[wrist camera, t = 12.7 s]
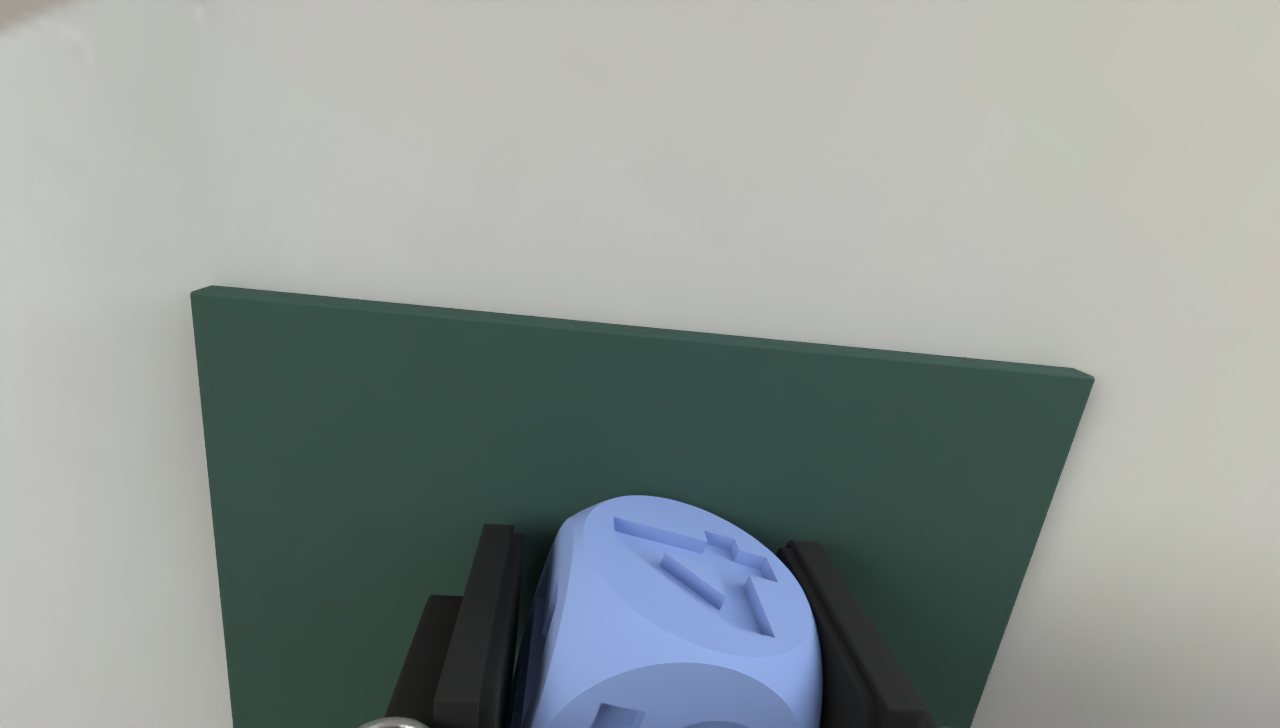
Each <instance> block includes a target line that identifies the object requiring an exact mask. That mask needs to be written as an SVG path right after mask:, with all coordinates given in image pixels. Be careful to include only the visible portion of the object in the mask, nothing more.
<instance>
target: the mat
mask: <svg viewBox="0 0 1280 728" xmlns="http://www.w3.org/2000/svg"><path fill="white" fill-rule="evenodd" d="M190 296H191V306H192V316H193V326H194V336H195V346H196V356H197V366H198V376H199V387H200V397H201V407H202V417H203V427H204V437H205V447H206V457H207V467H208V477H209V487H210V497H211V507H212V517H213V527H214V537H215V547H216V558H217V568H218V578H219V588H220V598H221V608H222V618H223V628H224V638H225V648H226V658H227V668H228V678H229V688H230V698H231V708H232V718H233V728H358V727H359V726H361V725H363V724H365V723H368V722H371V721H374V720H377V719H380V718H384V716H385V714H386V711H387V708H388V705H389V703H390V700H391V697H392V694H393V692H394V689H395V686H396V684H397V681H398V678H399V675H400V673H401V670H402V667H403V664H404V662H405V659H406V656H407V654H408V651H409V648H410V645H411V643H412V640H413V637H414V635H415V632H416V629H417V626H418V624H419V621H420V618H421V615H422V613H423V610H424V607H425V605H426V602H427V600H428V598H429V596H430V595H447V596H463V595H464V592H465V588H466V585H467V581H468V578H469V574H470V571H471V567H472V564H473V560H474V557H475V553H476V550H477V546H478V543H479V539H480V536H481V532H482V529H483V526H484V524H485V523H486V524H504V525H514V533H524V549H523V563H522V576H521V590H520V604H519V617H518V631H517V644H516V656H515V666H514V671H515V667H516V662H517V658H518V654H519V650H520V646H521V642H522V638H523V634H524V630H525V626H526V623H527V619H528V616H529V612H530V608H531V605H532V602H533V598H534V595H535V592H536V589H537V585H538V582H539V579H540V576H541V573H542V570H543V568H544V565H545V562H546V559H547V557H548V554H549V551H550V549H551V547H552V544H553V542H554V540H555V537H556V535H557V533H558V531H559V529H560V528H561V526H562V524H563V523H564V522H565V521H566V520H567V519H568V518H570V517H571V516H573V515H575V514H577V513H578V512H580V511H582V510H584V509H586V508H589V507H591V506H593V505H595V504H598V503H600V502H604V501H607V500H610V499H613V498H616V497H622V496H631V495H644V496H654V497H661V498H666V499H671V500H675V501H679V502H682V503H686V504H689V505H692V506H695V507H697V508H700V509H702V510H705V511H707V512H710V513H712V514H714V515H716V516H718V517H720V518H722V519H724V520H726V521H728V522H730V523H732V524H733V525H735V526H737V527H738V528H740V529H742V530H743V531H745V532H746V533H748V534H749V535H751V536H752V537H754V538H755V539H756V540H758V541H759V542H760V543H761V544H763V545H764V546H765V547H766V548H768V549H769V550H770V551H771V552H772V553H773V554H774V555H775V556H776V553H777V550H778V548H780V547H782V548H785V546H786V544H787V542H788V541H790V540H791V541H808V542H818V543H819V544H820V545H821V546H822V548H823V549H824V551H825V552H826V554H827V556H828V557H829V559H830V560H831V562H832V564H833V565H834V567H835V568H836V570H837V572H838V573H839V575H840V576H841V578H842V580H843V581H844V583H845V584H846V586H847V587H848V589H849V591H850V592H851V594H852V595H853V597H854V599H855V600H856V602H857V603H858V605H859V607H860V608H861V610H862V611H863V613H864V614H865V615H867V617H868V618H869V619H870V620H871V621H872V623H873V625H874V626H875V628H876V629H877V631H878V632H879V634H880V636H881V637H882V639H883V640H884V642H885V643H886V645H887V647H888V648H889V650H890V651H891V653H892V654H893V656H894V658H895V659H896V661H897V662H898V664H899V665H900V667H901V669H902V670H903V672H904V673H905V675H906V677H907V678H908V680H909V681H910V683H911V684H912V686H913V688H914V689H915V691H916V692H917V694H918V695H919V697H920V699H921V700H922V702H923V703H924V705H925V706H926V708H927V710H928V711H929V713H930V714H931V716H932V717H933V719H934V721H935V722H936V724H937V725H938V727H939V728H943V727H953V728H970V726H971V724H972V721H973V718H974V715H975V712H976V710H977V707H978V704H979V701H980V698H981V696H982V693H983V690H984V687H985V685H986V682H987V679H988V676H989V673H990V671H991V668H992V665H993V662H994V659H995V657H996V654H997V651H998V648H999V645H1000V643H1001V640H1002V637H1003V634H1004V632H1005V629H1006V626H1007V623H1008V620H1009V618H1010V615H1011V612H1012V609H1013V606H1014V604H1015V601H1016V598H1017V595H1018V592H1019V590H1020V587H1021V584H1022V581H1023V578H1024V576H1025V573H1026V570H1027V567H1028V565H1029V562H1030V559H1031V556H1032V553H1033V551H1034V548H1035V545H1036V542H1037V539H1038V537H1039V534H1040V531H1041V528H1042V525H1043V523H1044V520H1045V517H1046V514H1047V511H1048V509H1049V506H1050V503H1051V500H1052V498H1053V495H1054V492H1055V489H1056V486H1057V484H1058V481H1059V478H1060V475H1061V472H1062V470H1063V467H1064V464H1065V461H1066V458H1067V456H1068V453H1069V450H1070V447H1071V444H1072V442H1073V439H1074V436H1075V433H1076V431H1077V428H1078V425H1079V422H1080V419H1081V417H1082V414H1083V411H1084V408H1085V405H1086V403H1087V400H1088V397H1089V394H1090V391H1091V389H1092V386H1093V383H1094V377H1093V376H1091V375H1088V374H1086V373H1083V372H1081V371H1078V370H1076V369H1073V368H1065V367H1054V366H1044V365H1034V364H1023V363H1013V362H1002V361H992V360H982V359H971V358H961V357H950V356H940V355H930V354H919V353H909V352H899V351H888V350H878V349H867V348H857V347H847V346H836V345H826V344H815V343H805V342H795V341H784V340H774V339H763V338H753V337H743V336H732V335H722V334H711V333H701V332H691V331H680V330H670V329H659V328H649V327H639V326H628V325H618V324H607V323H597V322H587V321H576V320H566V319H556V318H545V317H535V316H524V315H514V314H504V313H493V312H483V311H472V310H462V309H452V308H441V307H431V306H420V305H410V304H400V303H389V302H379V301H368V300H358V299H348V298H337V297H327V296H316V295H306V294H296V293H285V292H275V291H264V290H254V289H244V288H233V287H223V286H213V285H212V286H209V287H205V288H202V289H199V290H196V291H192V292H191V295H190ZM513 676H514V673H513ZM512 681H513V680H512Z"/></svg>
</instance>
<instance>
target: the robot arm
mask: <svg viewBox="0 0 1280 728" xmlns="http://www.w3.org/2000/svg"><path fill="white" fill-rule="evenodd" d="M523 549H524V533H514V525H504V524H486V523H485V524H484V526H483V529H482V532H481V536H480V539H479V543H478V546H477V550H476V553H475V557H474V560H473V564H472V567H471V571H470V574H469V578H468V581H467V585H466V588H465V592H464V595H463V596H447V595H430V596H429V598H428V600H427V602H426V605H425V607H424V610H423V613H422V615H421V618H420V621H419V624H418V626H417V629H416V632H415V635H414V637H413V640H412V643H411V645H410V648H409V651H408V654H407V656H406V659H405V662H404V664H403V667H402V670H401V673H400V675H399V678H398V681H397V684H396V686H395V689H394V692H393V694H392V697H391V700H390V703H389V705H388V708H387V711H386V714H385V716H384V718H380V719H377V720H374V721H371V722H368V723H365V724H363V725H361V726H359V727H358V728H505V726H506V719H507V712H508V705H509V698H510V691H511V685H512V680H513V673H514V666H515V656H516V644H517V631H518V617H519V604H520V590H521V576H522V563H523ZM776 557H777V558H778V559H779V560H780V561H781V562H782V563H783V564H784V565H785V566H786V567H787V568H788V569H789V571H790V572H791V573H792V574H793V576H794V577H795V579H796V580H797V581H798V583H799V585H800V586H801V588H802V590H803V592H804V594H805V596H806V598H807V600H808V602H809V605H810V607H811V610H812V613H813V616H814V619H815V622H816V626H817V630H818V635H819V641H820V647H821V656H822V671H823V693H822V708H821V717H820V724H819V728H939V727H938V725H937V724H936V722H935V721H934V719H933V717H932V716H931V714H930V713H929V711H928V710H927V708H926V706H925V705H924V703H923V702H922V700H921V699H920V697H919V695H918V694H917V692H916V691H915V689H914V688H913V686H912V684H911V683H910V681H909V680H908V678H907V677H906V675H905V673H904V672H903V670H902V669H901V667H900V665H899V664H898V662H897V661H896V659H895V658H894V656H893V654H892V653H891V651H890V650H889V648H888V647H887V645H886V643H885V642H884V640H883V639H882V637H881V636H880V634H879V632H878V631H877V629H876V628H875V626H874V625H873V623H872V621H871V620H870V619H869V618H868V617H867V615H865V614H864V613H863V611H862V610H861V608H860V607H859V605H858V603H857V602H856V600H855V599H854V597H853V595H852V594H851V592H850V591H849V589H848V587H847V586H846V584H845V583H844V581H843V580H842V578H841V576H840V575H839V573H838V572H837V570H836V568H835V567H834V565H833V564H832V562H831V560H830V559H829V557H828V556H827V554H826V552H825V551H824V549H823V548H822V546H821V545H820V544H819V543H818V542H808V541H791V540H790V541H788V542H787V544H786V546H785V548H782V547H780V548H778V550H777V553H776ZM943 728H953V727H943Z"/></svg>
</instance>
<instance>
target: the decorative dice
mask: <svg viewBox="0 0 1280 728" xmlns="http://www.w3.org/2000/svg"><path fill="white" fill-rule="evenodd" d="M822 693H823V671H822V656H821V647H820V641H819V635H818V630H817V626H816V622H815V619H814V616H813V613H812V610H811V607H810V605H809V602H808V600H807V598H806V596H805V594H804V592H803V590H802V588H801V586H800V585H799V583H798V581H797V580H796V579H795V577H794V576H793V574H792V573H791V572H790V571H789V569H788V568H787V567H786V566H785V565H784V564H783V563H782V562H781V561H780V560H779V559H778V558H777V557H776V556H775V555H774V554H773V553H772V552H771V551H770V550H769V549H768V548H766V547H765V546H764V545H763V544H761V543H760V542H759V541H758V540H756V539H755V538H754V537H752V536H751V535H749V534H748V533H746V532H745V531H743V530H742V529H740V528H738V527H737V526H735V525H733V524H732V523H730V522H728V521H726V520H724V519H722V518H720V517H718V516H716V515H714V514H712V513H710V512H707V511H705V510H702V509H700V508H697V507H695V506H692V505H689V504H686V503H682V502H679V501H675V500H671V499H666V498H661V497H654V496H644V495H631V496H622V497H616V498H613V499H610V500H607V501H604V502H600V503H598V504H595V505H593V506H591V507H589V508H586V509H584V510H582V511H580V512H578V513H577V514H575V515H573V516H571V517H570V518H568V519H567V520H566V521H565V522H564V523H563V524H562V526H561V528H560V529H559V531H558V533H557V535H556V537H555V540H554V542H553V544H552V547H551V549H550V551H549V554H548V557H547V559H546V562H545V565H544V568H543V570H542V573H541V576H540V579H539V582H538V585H537V589H536V592H535V595H534V598H533V602H532V605H531V608H530V612H529V616H528V619H527V623H526V626H525V630H524V634H523V638H522V642H521V646H520V650H519V654H518V658H517V662H516V667H515V671H514V676H513V681H512V685H511V691H510V698H509V705H508V712H507V719H506V726H505V728H819V724H820V717H821V708H822Z"/></svg>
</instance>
